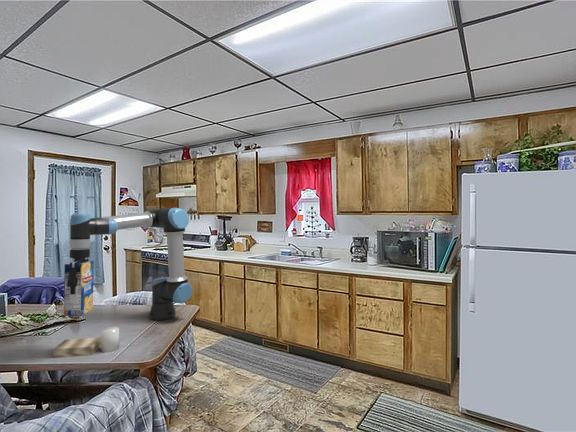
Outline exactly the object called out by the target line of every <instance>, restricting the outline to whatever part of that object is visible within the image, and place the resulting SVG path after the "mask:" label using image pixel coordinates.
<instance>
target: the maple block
mask: <svg viewBox="0 0 576 432" xmlns="http://www.w3.org/2000/svg"><path fill="white" fill-rule="evenodd" d="M100 348H101V337H88V338H86V337H85V338H72V339H70V338H69V339H64V340H63V341H61V342H60V343H59V344H58V345H56V346H55V347H54V348H53V349H52V350H53V351H52V353H53V355H52V358H66V357H78V356H79V357H80V356H81V357H82V356H90V355H91V356H92V355H94V354H95V353H96V352H97V350H98V349H100Z"/></svg>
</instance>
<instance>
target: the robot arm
mask: <svg viewBox="0 0 576 432" xmlns="http://www.w3.org/2000/svg"><path fill="white" fill-rule="evenodd" d="M189 219H190V217H189V214H188V213H187V212H186V211H185V210H184V209H183V208H179V207H162V208H157V209H152V210H145V211H144V212H142V213H141V212H140V213H132V214H131V213H130V214H120V215H110V216H99V217H91V215H90V213H89V214H87V213H72V215H70V221H69V241H68V244H69V248H70V250H69V258H70V259H73V261H71V262H69V263H70V271H69V277H68V283H67V287H70V302H77V298H78V286H77V277H76V275H77V268H78V264H79V263H84V262H85V261H90V259H89V258H90V256H91V249H90V248H91V236H97V235H99V236H100V235H101V236H103V235H108V236H109V235H115V234H116V233H117V232H118V231H119V230H120V231H121V230H129V229H136V228H143V227H145V228H146V229H147V228H148V229H150V228H159V229H163V233H164V234H165V235H166V247H167V262H168V263H167V264H168V265H167V267H168V276H166V277H165V276H164V277H158V278H154V279H153V280H152V284H151V290H152V291H151V292H152V293H151V294H152V295H151V296H152V297H151V300H152V303H151V307H150V310H149V313H148V319H149V320H152V321H164V320H170V319H174V318H175V317H176V316H177V310H176V308H175V305H174V303H175V304H184V303H186V302H188V301H189V300H190V299H191V297H192V295H193V291H194V288H193V286H192V285H191V284H190V283H189V277H187V276H186V275H185V274H186V273H185V271H186V270H185V256H184V255H185V253H184V238H183V237H184V236H183V234H184V233H185V232H186V227H188V225H189V222H190V220H189Z"/></svg>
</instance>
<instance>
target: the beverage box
mask: <svg viewBox="0 0 576 432" xmlns="http://www.w3.org/2000/svg"><path fill="white" fill-rule="evenodd" d="M70 263H71V262H68V263H64V275H63V276H64V277H63V278H64V279H63V281H64V283H63V284H64V288H63V289H64V290H63V292H64V293H63V294H64V295H63V297H64V298H63V317H77V316H78V317H81V316H83V315H85V314H87V313H88V312H90V311H91V310H93V309H94V269H95V268H94V263H95V261H94V260H89V261H85V262H84V263H79V264H78V268H77V275H76V277H77V286H78V298H77V302H70V287H67V283H68V277H69V271H70Z"/></svg>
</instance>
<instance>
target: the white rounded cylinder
mask: <svg viewBox="0 0 576 432" xmlns="http://www.w3.org/2000/svg"><path fill="white" fill-rule="evenodd" d="M100 338H101V346H100V348H101V349H100V351H101V352H102V353H105V352H106V353H113V352H117V351H118V350H119V348H120V327H119V326H109V327H105V328H102V329H101V337H100Z"/></svg>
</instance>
